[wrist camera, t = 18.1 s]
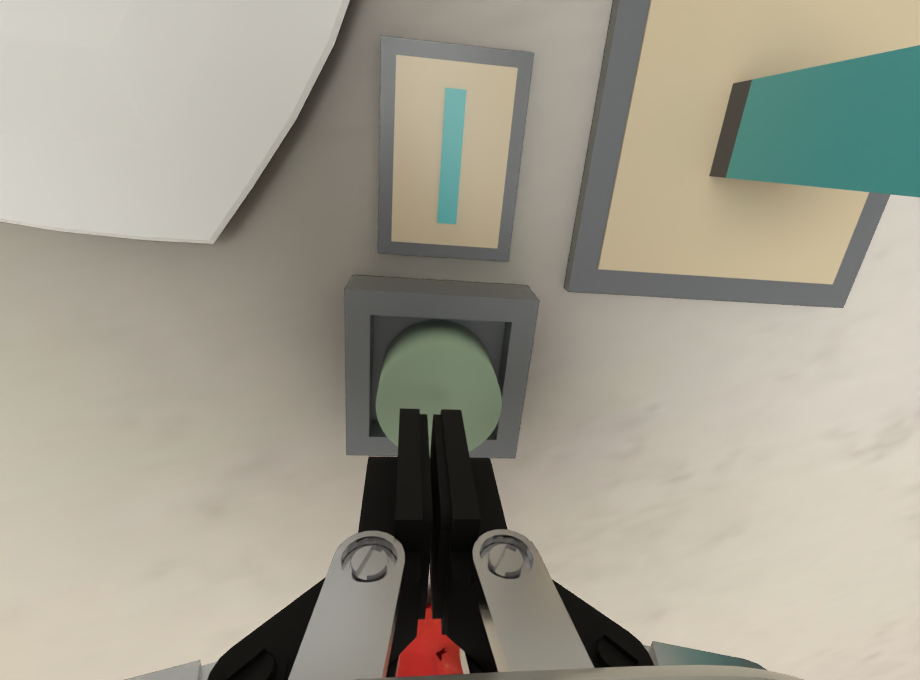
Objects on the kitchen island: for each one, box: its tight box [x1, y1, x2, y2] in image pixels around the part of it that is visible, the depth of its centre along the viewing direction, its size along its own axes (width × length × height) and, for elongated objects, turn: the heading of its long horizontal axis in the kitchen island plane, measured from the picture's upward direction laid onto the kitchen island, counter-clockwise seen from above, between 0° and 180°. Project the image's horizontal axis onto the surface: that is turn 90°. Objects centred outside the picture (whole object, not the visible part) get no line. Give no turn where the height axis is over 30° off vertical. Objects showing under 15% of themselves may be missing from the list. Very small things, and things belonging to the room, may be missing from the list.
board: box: [564, 0, 920, 308], centre depth 16 cm, size 18×12×1 cm, turn 175°
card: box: [378, 36, 534, 262], centre depth 16 cm, size 7×5×1 cm
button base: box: [344, 275, 539, 459], centre depth 19 cm, size 7×7×2 cm
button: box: [376, 320, 502, 454], centre depth 17 cm, size 4×4×3 cm
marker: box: [709, 45, 920, 197], centre depth 12 cm, size 3×3×10 cm
